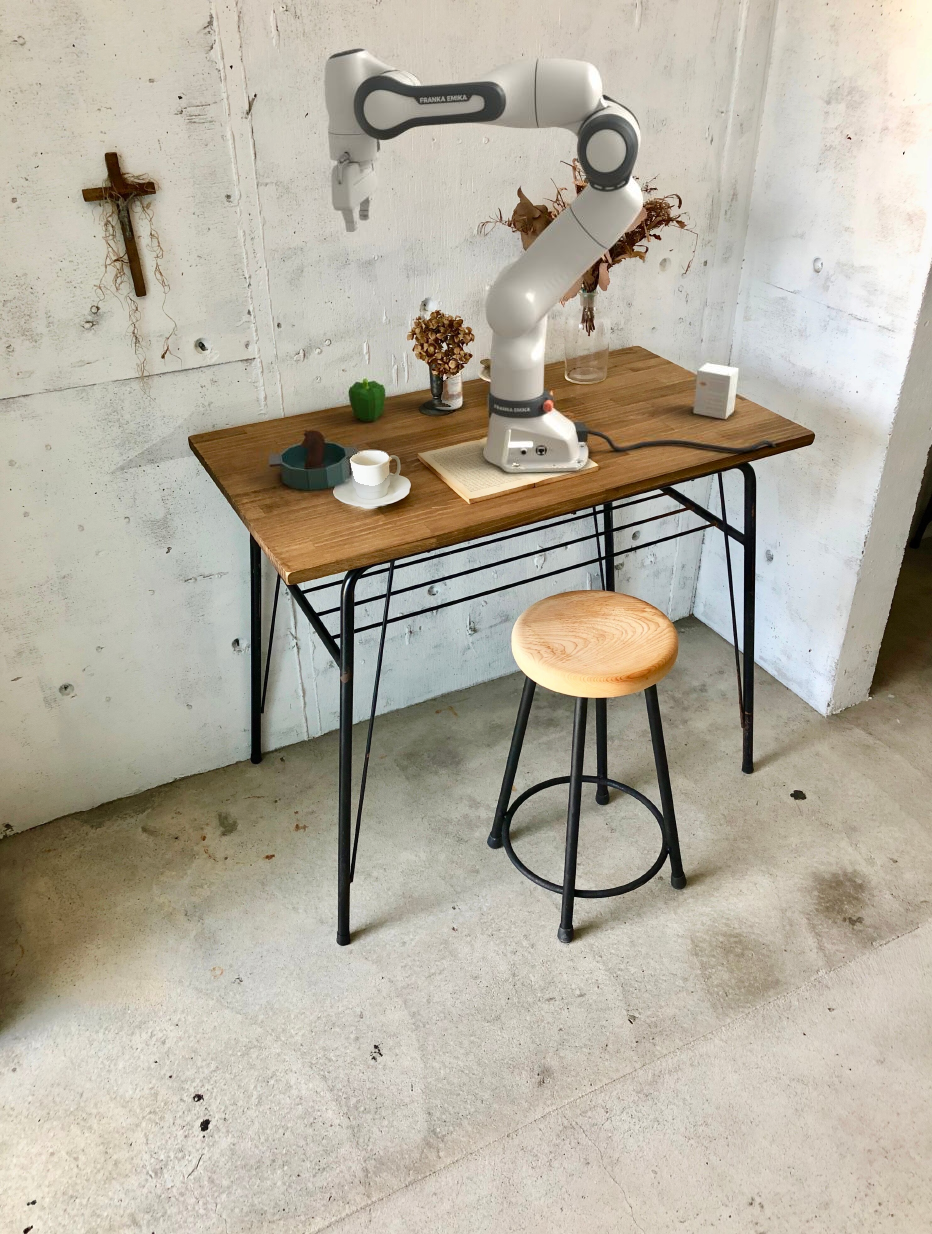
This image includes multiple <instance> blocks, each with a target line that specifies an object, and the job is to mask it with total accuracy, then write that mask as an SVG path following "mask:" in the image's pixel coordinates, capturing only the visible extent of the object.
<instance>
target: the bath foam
mask: <svg viewBox="0 0 932 1234" xmlns="http://www.w3.org/2000/svg"><path fill="white" fill-rule="evenodd" d="M441 400H442V403H445V404H448V405H450V406H451V407H435V408H436V409H438V410H440V411H441V410H442V411H453V410H457V409H459V408H461V407H462V405H463V370H462V371H460V372H459V373H457V374H456V375H454V376H451V377H450V378H448V379H446V380H444V382H443V392H442V398H441Z"/></svg>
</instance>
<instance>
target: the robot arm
mask: <svg viewBox="0 0 932 1234" xmlns="http://www.w3.org/2000/svg"><path fill="white" fill-rule="evenodd" d="M324 100H325V101H324V102H325V108H326V111H327V115H328V125H327V139H328V149H329V151H328V152H329V159H330V160H332V161H334V162H336V164H335V165H334V166H332V169H331V173H330V174H331V175H330V178H331V180H330V185H331V186H330V187H331V204H332V207H333V210H334V211H340V212H341V214H342V215H341V216H342V218H343V221H344V225H345V231H346V232H348V233H354V232H355V231H356V230H357V229H358V226H357V225H358V224H357V220H356V217H355V214H356V213H355V212H356V209H355V208H356V207H357V206H359V210H358V218H359V220H360V221H368V220H369V219H370V218H371V212H370V209H371V202H372V194H374V193H375V192H376V191H377V190H378V187H379V182H380V181H379V179H380V161H379V159H380V158H379V153H380V151H382V150H381V148H382V147H381V141H389V140H393V139H395V138H397V137H399V136H400V135H403V134H404V133H405V132H407V131H409V130H410V129H414V128H417V127H418V128H419V127H428V126H442V125H456V124H480V125H488V126H497V127H504V128H512V129H513V128H514V129H549V128H558V129H565V130H568V131H570V132H571V133H573V134H574V135H575V136H576V137H577V142H576V154H577V159H578V162H579V165H580V167H581V169H582V171H583V173H584V175H585V178H586V180H587V181H588V183H587V184H586V186H585V187H584V189H583V190H582V191H581V192H580V193H579V194H578V196H576V198H574V199H573V200H572V201H571V202H570V203H569V204H568V205H567V206H566V207H565V208H564V209H563V210H562V211H561V213H560V214H558V216H557V217H556V218H554V219H553V220H552V222H551V223H549V225H548V226H546V228H545V229H544V230H543V231H542V232H541V233H540V234H539V235H538V236H537V237H536V238H535V240H534V241H533V242H532V243H531V244H530V245H529V246H528V248H526V250H525V251H524V252H523V253H522V254H521V256H519V257H518V259H517V260H514V261H512V262H509V263H508V264H507V265H505V266H504V267H503V268H502V269H501V271H500V272H499V273H498V275H497V276H496V278H495V280H494V282H493V284H492V286H491V288H490V290H489V291H488V293H487V295H486V298H485V302H484V303H485V304H484V305H485V306H484V307H485V310H484V311H485V317H486V321H487V324H488V326H489V328H490V329H491V330H492V336H491V345H490V354H489V359H490V360H489V361H490V362H489V363H490V364H489V367H490V369H489V371H490V372H489V374H490V376H489V379H490V381H489V383H490V387H489V388H490V389H489V391H488V394H487V414H488V419H489V420H488V428H487V429H488V430H487V435H486V436H487V437H486V441H485V446H484V448H483V451H482V455H483V458H484V459H485V460H486V461H488V462H489V463H491V464H493V465H495V466H498V467H499V468H501V469H502V470H503V471H505V472H506V473H546V472H547V473H549V472H550V473H551V472H552V473H554V472H556V473H557V472H577V471H579V470H580V469H582V468H584V466H585V465H586V464H587V462H588V459H589V447H588V445H587V444H586V443H588V437H589V435H592V436H596V437H599V438H600V439H603V440H605V441H606V442H607V444H608V445H609V447H610V448H611V449H612V450H614V451H616V452H628V451H632V450H634V449H639V448H642V447H648V446H658V445H681V446H684V445H685V446H690V447H695V448H702V449H708V450H716V451H721V452H722V451H723V452H730V453H745V452H746V453H747V452H751V451H753V450H755V449H757V448H760V447H762V446H764V445H765V446H766V445H767V446H769V447H771V448H776V444H775V443H774V442H773V441H771V440H768V439H766V440H760V441H758V442H757V443H754V444H752V445H750V446H746V447H730V446H724V445H717V444H709V443H703V442H696V441H690V440H680V439H658V440H649V441H642V442H638V443H634V444H631V445H629V446H623V447H621V446H617V445H615V443H614V442H613V441H612V439H611V438H610V437H609V436H608V435H606V434H605V433H602V432H599V431H596V430H592V429H588V427H587V425H586V422H585V421H574V422H573V421H572V420H570V419H569V418H568V417H566V416H565V415H563V414H562V413H561V412H560V411H558V410H557V409H555V408H554V396H553V395H554V393H553V390H550V392H548V391H547V390H546V389H545V388H544V386H545V384H544V383H545V382H544V381H545V354H546V353H545V352H546V351H545V350H546V341H547V329H548V316H549V312H550V311H551V310H552V309H553V308H554V307H555V306H556V305H557V304H558V303H559V301H560V300H561V299H562V298H563V297H564V296H565V295H566V294H567V293H568V291H569V290H570V289H571V288H572V287H573V286H574V285H575V283H576V282H577V281H578V280H580V279H581V277H582V276H583V275H584V274H585V273H587V271H588V270H589V269H590V268H592V266H593V265H594V264H596V262H598V261H599V260H600V259H601V258H602V257H603V256H604V255H605V254H606V253H607V252H608V251H609V250H610V249H611V248H612V247H613V246H614V245H615V244H616V243H617V242H618V241H619V240H620V239H621V238H622V236H623V235H624V234H625V233H626V232H627V230H629V228H630V227H631V225H632V224H633V223H634V222H635V220H636V219H637V217H638V216H639V215H640V213H641V212H642V209H643V206H644V195H643V192H642V188H641V187H640V185H639V184H638V182H637V181H636V180H635V178H633V175H632V174H633V170H634V167H635V164H636V161H637V157H638V154H639V152H640V148H641V143H642V133H641V127H640V123H639V120H638V119H637V117H636V115H635V114H634V113H633V111H632V110H630V108H628V107H627V106H625V105H624V104H622V103H620V102H618V101H616V100H615V99H613V98H611V97H610V96H608V95H606V94H603V83H602V78H601V75H600V72H599V71H598V69H597V67H596V66H595V65H593V64H592V63H591V62H589V61H584V60H579V59H571V58H562V57H560V58H559V57H539V58H538V57H537V58H526V59H520V60H514V61H511V62H507V63H504V64H501V65H498V66H496V67H494V68H492V69H490V70H489V71H487V72H485V73H483V74H481V75H479V76H475V77H474V78H470V79H468V80H464V81H460V82H451V83H450V82H449V83H436V84H422V82H421V81H420V80H419V78H418V77H417V76H416V75H415V74H413V73H411V72H409V71H407V70H403V69H401V68H397V67H394V66H392V65H389V64H387V63H385V62H383V61H381V60H379V59H378V58H376V57H374V56H373V55H372V54H371V53H370V52H368V50H367V49H365V48H352V49H347V50H344V51H341V52H336V53H334V54H332V55H330V57H328V59H327V60H326V62H325V66H324ZM573 462H575V463H573ZM513 463H516V464H519V465H513ZM578 463H580V464H581V465H580V464H578ZM545 464H546V465H548V466H546V465H545ZM512 465H513V466H512ZM552 465H553V466H552ZM515 467H523V468H525V469H511V468H515ZM544 467H545V468H544ZM546 467H551V468H546ZM552 467H557V468H552ZM558 467H562V468H558ZM563 467H567V468H563Z"/></svg>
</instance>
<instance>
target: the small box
mask: <svg viewBox="0 0 932 1234" xmlns="http://www.w3.org/2000/svg"><path fill="white" fill-rule="evenodd" d="M739 370H740V369H739V368H738V367H732V366H729V365H727V366H726V365H722V364H715V363H709V362H706V363H704V364H703V365H702V366H701V367H700V368H699V369H697V372H696V381H695V391H694V402H693V411H692V412H693V414H696V415H700V416H701V415H702V416H707V417H711V418H717V419H722V420H726V419H728V417H730V415H732V414H733V413H734V411H735V405H736V395H737V389H738V388H737V386H738V379H739V372H740V371H739Z"/></svg>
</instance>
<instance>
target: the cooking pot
mask: <svg viewBox="0 0 932 1234" xmlns="http://www.w3.org/2000/svg"><path fill="white" fill-rule="evenodd" d="M301 444H302V442H300V443H296V444H294V445H291V446H289V447H286V448H285V449H284V450H283V451H282V452H281V453H274V454H273V453H272V454H268V461H269V462H268V463H269V468H274V467H275V468H276V467H280V473H281V481H282V483H283V484H285V485H287V486H288V487H290V488H292V489H297V490H302V491H320V490H328V489H330V488H333V487H335V486H339V485H341V484H344V482H345V481H346V480H347V479H348V478H349V477H350V476H351V469H350V468H351V467H350V460H351V459H350V458H351V457H352V456H353V455H355V454H357V453H358V454H359V452H358V447H357V446H356V445H355V446H346V447H345V446H344V445H341V444H339V443H338V442H332V441H325V450H324V459H323V466H324V468H317V469H304V467H305V466H304V464H305V460H306V456H307V453H308V451H309V448H310V447H311V446H308V447H306V448H305V449H302V447H301Z"/></svg>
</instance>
